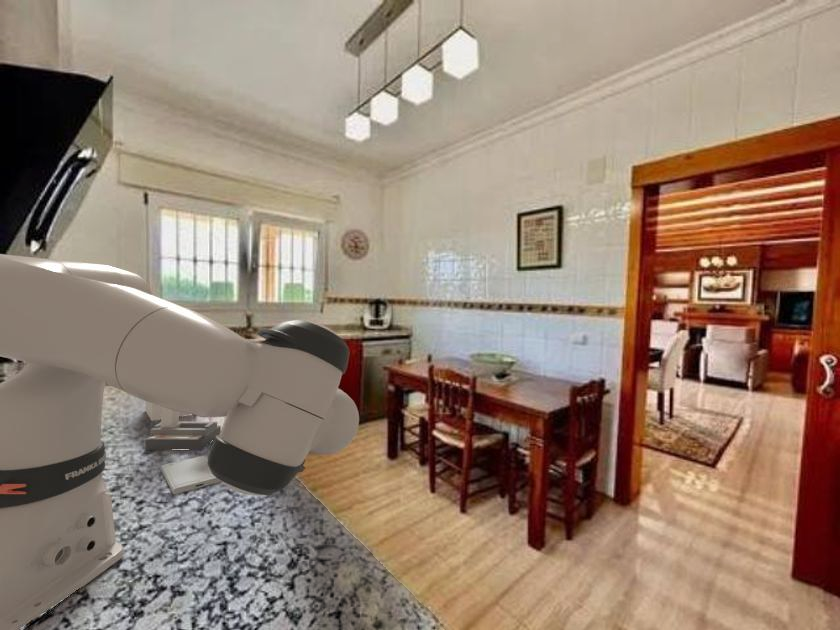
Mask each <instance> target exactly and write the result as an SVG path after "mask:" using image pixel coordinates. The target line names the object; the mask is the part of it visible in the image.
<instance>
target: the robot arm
mask: <svg viewBox="0 0 840 630" xmlns="http://www.w3.org/2000/svg"><path fill="white" fill-rule="evenodd" d="M256 333H257V335H259V336H260V337H261V338H262V339H265V340H262V341H260V342H253V341H250V340H249V339H246V338H245V337H243V336H241V335H240V334H239V333H236V332H235V331H233V330H232V329H230V328H229V327H227V326H225V325H223V324H222V323H219V322H218V321H216V320H213V319H212V318H210V317H208V316H206V315H204V314H202V313H199V312H197V311H195V310H192V309H190V308H187V307H185V306H182V305H179V304H176V303H175V302H172V301H169V300H167V299H164V298H161V297H159V296H156V295H153V291H152V290H151V288H150V286H149V283H147V281H146V280H145V279H144V278H143V277H141V276H140V275H139V274H136V273H134V272H131V271H128V270H124V269H123V268H118V267H115V266H111V265H108V264H103V263H93V262H85V261H84V262H83V261H73V260H63V259H55V258H43V257H42V258H41V257H33V256H23V255H14V254H4V253H0V357H2V358H6V359H10V360H16V361H19V362H20V361H21V362H25V363H27V364H26V365H25V366H24V367H23V368H22V369H21V370H20V371H18V373H16V374H14V375H12V376H11V377H10V378H8V379H6V380H4V381H2V382H0V630H19V629H20V628H21V627H23V626H24V625H26V624H27V623H29V622H30V621H31V620H33V619H35V618H36V617H37V616H39V615H40V614H42V613H44V612H45V611H47V610H48V609H49V608H51V607H52V606H54V605H55V604H57V603H58V602H60V601H61V600H63V599H64V598H66V597H67V596H69V595H70V594H72V593H73V592H75V591H76V590H78V589H79V588H80V589H82V588H83V587H85V586H86V585H87V584H88V583H90V582H91V581H92V580H94V579H95V578H97V577H98V576H99V575H100V574H102V573H103V572H105V571H107V570H108V568H110V567H111V566H113V565H114V564H116V563H117V562H118V561H120V560H121V559H122V558H123V556H124V553H125V552H124V548H123V545H122V544H121V543H120V542H118V541H117V540H116V531H115V521H114V512H113V511H114V510H113V503H112V496H111V493H110V491H109V489H108V488H107V485H106V483H105V481H104V479H103V471H104V470H105V468H106V458H107V451H106V448H105V443H104V441H103V440H101V439H102V415H103V402H104V392H105V387H106V385H109V386H110V387H112V388H115V389H117V390H120V391H122V392H124V393H126V394H128V395H130V396H132V397H134V398H137V399H139V400H142V401H143V402H144V401H145V402H146V401H147V402H150V403H153V404H155V405H158V406H161V407H165V408H168V409H171V410H175V411H179V412H183V413H188V414H194V415H195V416H197V417H199V418H223V417H225V420H224V422H223V424H222V425H221V432H220V434H219V435H216V436H215V438H214V441H212V443H211V446H210V450H209V453H208V456H207V457H208V466H209V468H210V470H211V472H212V474H213V475H214V476H215V477H216V478H218V479H219V480H220V481H221V482H220V483H222V484H223V485H224V486H225V487H227V488H229V489H230V490H232V491H234V492H237V493H240V494H243V495H250V496H259V495H261V496H271V495H273V494H275V493H276V494H277V493H278V492H280V491H282V490H283V489H285V488H287V486H288V485H289V484H290V483H291V482H292V481H293V479H294V478H295V477H296V476H297V474H299V473H301V472H303V471H304V470H305V469H306V467H305V466H304V464H305V462H306V460H307V459H306V458H307V457H308V454H310V455H318V456H327V455H333V454H336V453H338V452H341V451H342V450H344V449H346V447H348V446H349V445H350V444H351V443H352V441H353V440H354V439H355V436H356V435H357V432H358V428H359V425H360V424H359V423H360V415H359V409H358V407H357V405H356V403H355V401H354V400H353V398H351V397H350V396H349V395H348V394H347V393H346V392H344V390H342V389H341V388H339V386H340V383H341V379H342V376H343V375H344V374H346V371H347V368H348V364H349V359H350V354H351V352H350V351H351V350H350V348H349V346H348V345H347V342H346V341H345V340H344V339H343V338H341V336H339V335H338V334H337V333H336V332H335V331H334V330H332V329H331V328H329V327H328V326H327V325H324V324H322V323H319V322H316V321H309V320H308V321H306V320H303V319H293V320H287V321H283V322H279V323H278V324H276V325H275V326H273V327H271V328H267V327H262V328H260V329H259V330H258V331H257V332H256ZM194 415H193V416H194ZM81 587H82V588H81ZM80 589H79V590H80ZM79 590H78V591H79ZM76 592H77V591H76ZM76 592H75V593H76ZM72 595H73V594H72ZM69 597H70V596H69Z"/></svg>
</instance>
